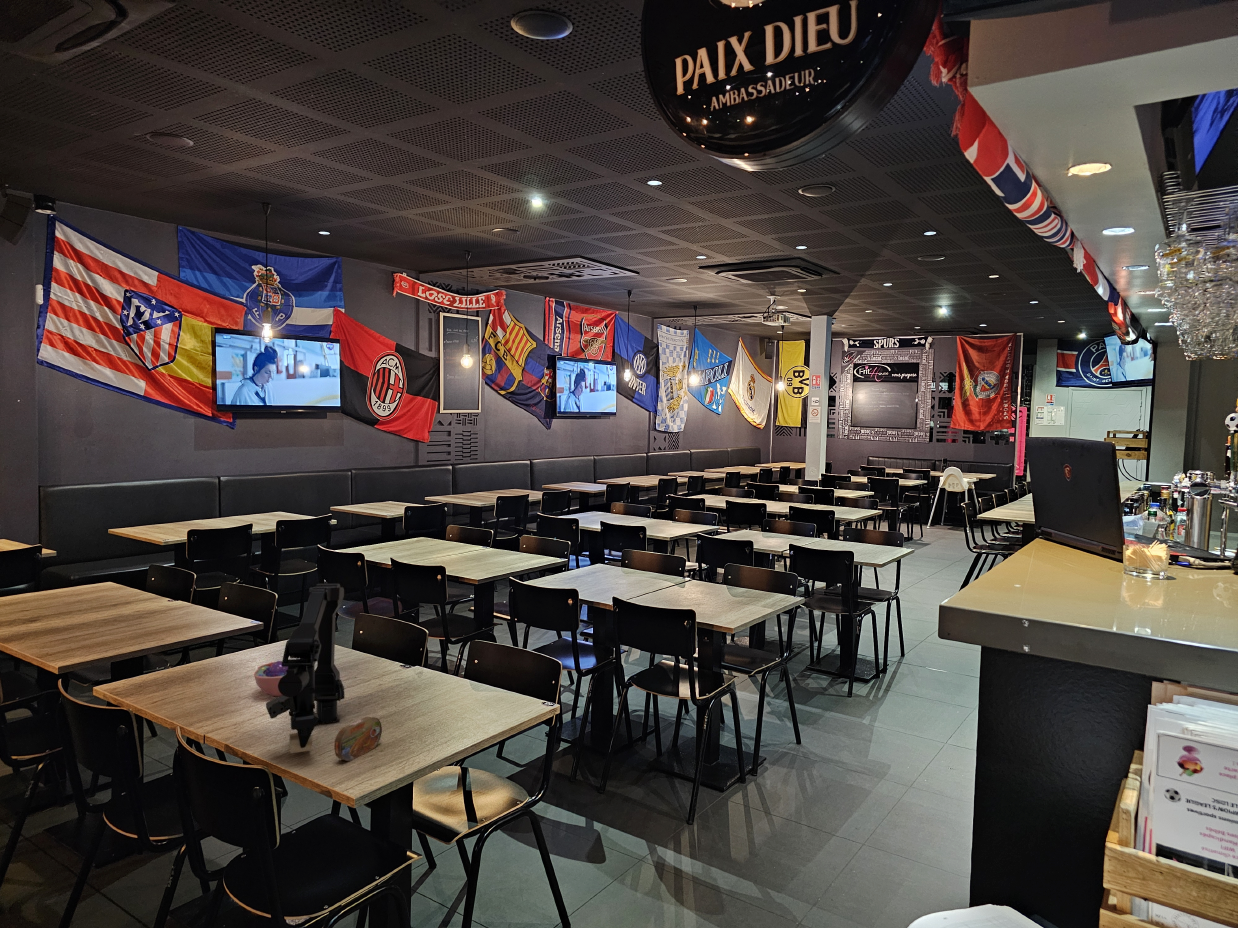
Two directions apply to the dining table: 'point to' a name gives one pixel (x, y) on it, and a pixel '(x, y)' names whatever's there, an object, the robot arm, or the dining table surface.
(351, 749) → the tin
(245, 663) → the dining table surface
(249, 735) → the dining table surface
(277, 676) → the cell model
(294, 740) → the oak block
